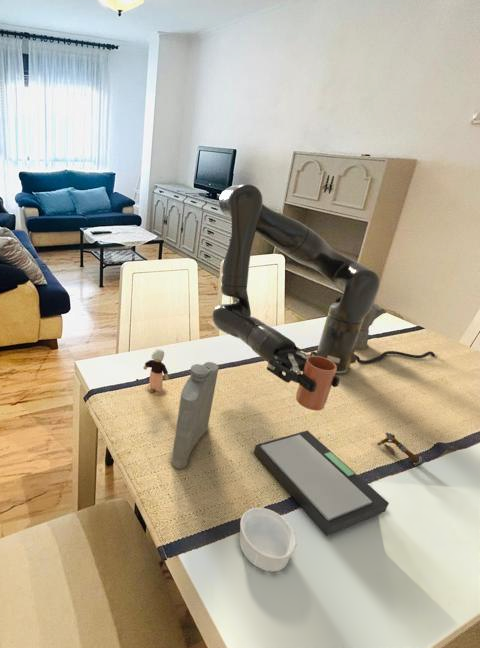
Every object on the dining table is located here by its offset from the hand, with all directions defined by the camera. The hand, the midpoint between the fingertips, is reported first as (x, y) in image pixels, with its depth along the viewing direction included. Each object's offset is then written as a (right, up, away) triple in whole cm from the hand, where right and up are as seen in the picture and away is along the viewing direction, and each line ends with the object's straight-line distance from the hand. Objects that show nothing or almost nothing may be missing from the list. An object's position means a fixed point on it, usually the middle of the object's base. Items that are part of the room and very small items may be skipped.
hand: (326, 385), depth 80 cm
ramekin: (-19, -24, -14) cm, 34 cm away
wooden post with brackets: (+20, -18, +7) cm, 28 cm away
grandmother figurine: (-34, -7, +25) cm, 42 cm away
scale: (-3, -19, -1) cm, 20 cm away
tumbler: (-1, -5, +4) cm, 6 cm away
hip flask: (-27, -15, +7) cm, 32 cm away
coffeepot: (+38, +1, +56) cm, 68 cm away
